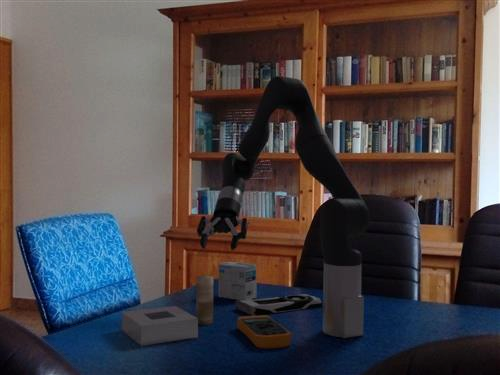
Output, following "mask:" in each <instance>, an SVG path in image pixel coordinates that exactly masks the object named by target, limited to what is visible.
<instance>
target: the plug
mask: <svg viewBox="0 0 500 375" xmlns="http://www.w3.org/2000/svg"><path fill="white" fill-rule="evenodd" d="M195 282H196V284H195V286H196V287H195V288H196V290H195V292H196V294H195V297H196V299H195V302H196V303H195V308H196V309H195V317H196V318H198V326H201V325H202V326H208V325H212V324H213V323H214V276H213V275H207V274H206V275H197V276H196V281H195Z"/></svg>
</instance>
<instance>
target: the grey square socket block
mask: <svg viewBox="0 0 500 375" xmlns="http://www.w3.org/2000/svg"><path fill="white" fill-rule="evenodd" d="M121 316H122V321H121V322H122V324H121V331H122V332H123V333H125V335H127V336H129V337H130V338H131V339H132V340H134V341H135V343H137V344H138V345H139V346H140V347H143V346H150V345H155V344H156V345H157V344H162V343H169V342H175V341H176V342H177V341H181V340H188V339H196V338H199V324H198V318H196V316H195V315H192V314H190V313H189V312H188V311H185V310H183V309H181V308H180V307H178V306H177V305H173V306H164V307H163V306H162V307H156V308H146V309H137V310H130V311H122V313H121Z"/></svg>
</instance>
